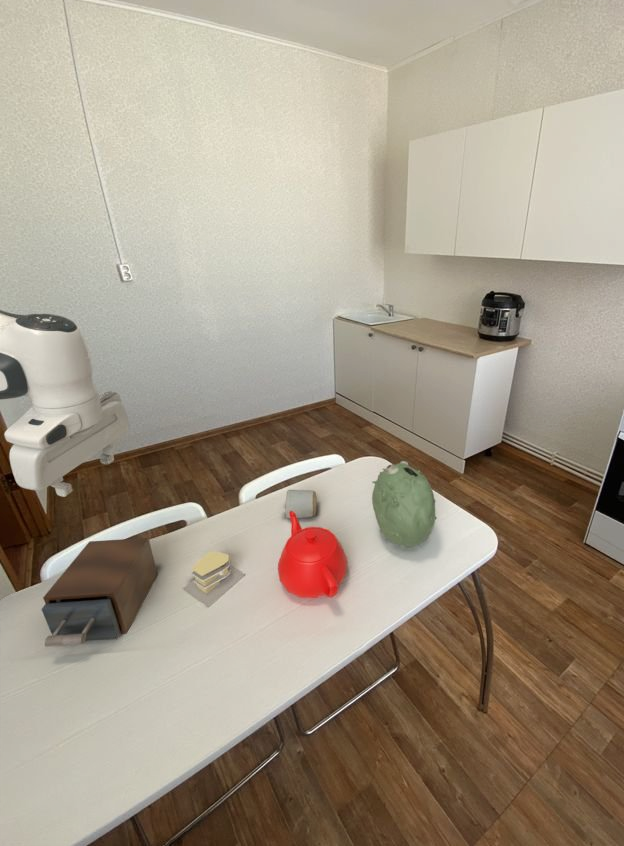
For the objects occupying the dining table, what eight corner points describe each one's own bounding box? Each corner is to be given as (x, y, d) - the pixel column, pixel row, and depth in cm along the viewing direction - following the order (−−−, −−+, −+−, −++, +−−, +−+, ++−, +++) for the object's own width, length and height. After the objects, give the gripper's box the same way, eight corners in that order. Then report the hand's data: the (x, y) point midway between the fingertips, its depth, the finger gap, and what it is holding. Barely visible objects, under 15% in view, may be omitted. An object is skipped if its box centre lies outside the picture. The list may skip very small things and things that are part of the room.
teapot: (369, 600, 81) (369, 554, 77) (300, 635, 74) (295, 587, 70) (321, 530, 101) (318, 491, 97) (263, 552, 94) (258, 511, 90)
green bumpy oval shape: (402, 574, 87) (404, 501, 80) (358, 528, 102) (356, 462, 95) (451, 547, 95) (457, 478, 88) (404, 507, 110) (406, 445, 103)
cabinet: (126, 633, 75) (113, 592, 71) (59, 638, 74) (42, 597, 70) (157, 574, 88) (148, 537, 85) (101, 578, 87) (89, 541, 84)
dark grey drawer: (104, 663, 68) (92, 627, 65) (37, 668, 68) (21, 633, 65) (149, 581, 85) (140, 550, 82) (96, 585, 85) (85, 553, 82)
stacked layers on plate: (208, 607, 80) (204, 587, 78) (182, 588, 84) (177, 569, 83) (245, 574, 88) (242, 555, 86) (219, 559, 92) (216, 541, 90)
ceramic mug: (316, 522, 104) (315, 498, 102) (286, 524, 104) (284, 500, 101) (317, 499, 114) (316, 477, 112) (289, 501, 114) (287, 478, 111)
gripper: (102, 384, 74) (115, 444, 80) (-9, 439, 56) (19, 511, 62) (131, 389, 73) (142, 449, 79) (29, 446, 55) (53, 519, 61)
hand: (87, 477), depth 70 cm, fingers open, 8 cm apart
